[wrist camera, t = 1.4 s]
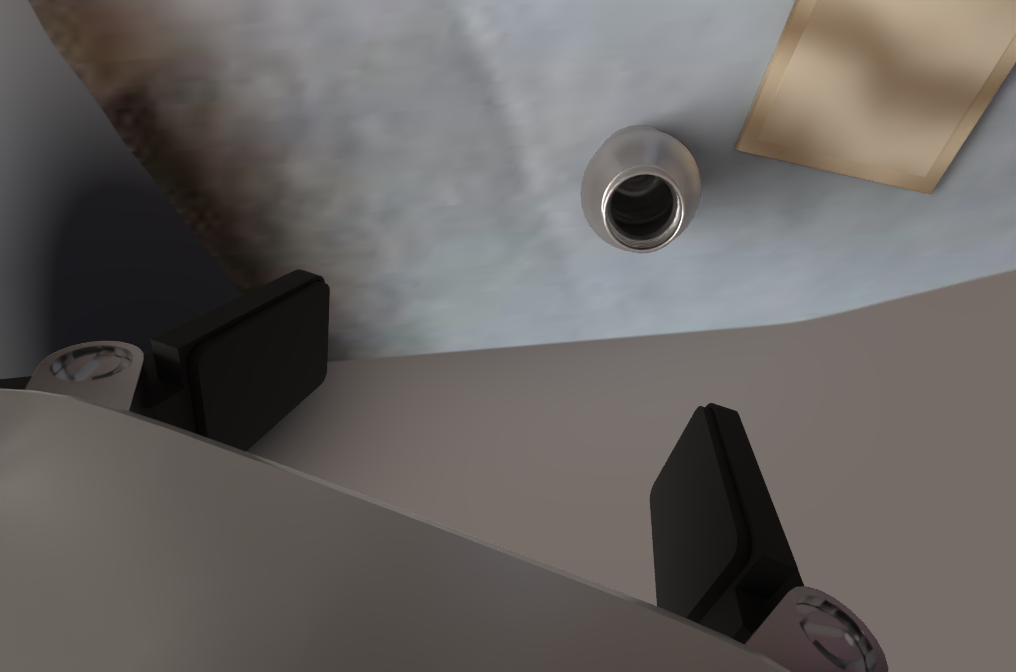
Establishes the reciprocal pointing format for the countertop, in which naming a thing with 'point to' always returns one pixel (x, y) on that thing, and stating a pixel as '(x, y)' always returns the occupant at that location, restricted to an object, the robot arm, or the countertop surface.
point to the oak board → (881, 86)
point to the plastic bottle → (640, 189)
